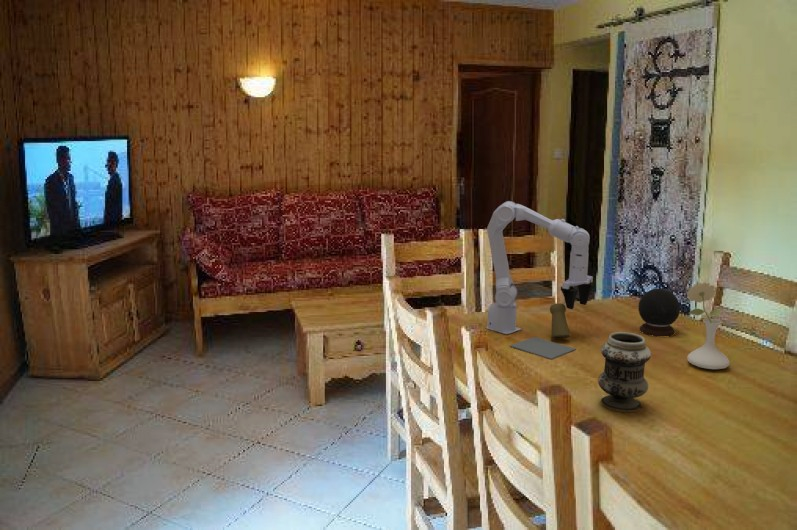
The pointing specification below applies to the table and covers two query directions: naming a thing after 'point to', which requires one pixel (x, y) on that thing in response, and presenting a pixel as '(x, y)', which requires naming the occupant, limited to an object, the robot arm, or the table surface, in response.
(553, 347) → the topple mat
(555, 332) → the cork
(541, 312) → the table surface
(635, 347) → the apothecary jar
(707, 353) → the flower in vase
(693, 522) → the table surface
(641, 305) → the black ball on stand
